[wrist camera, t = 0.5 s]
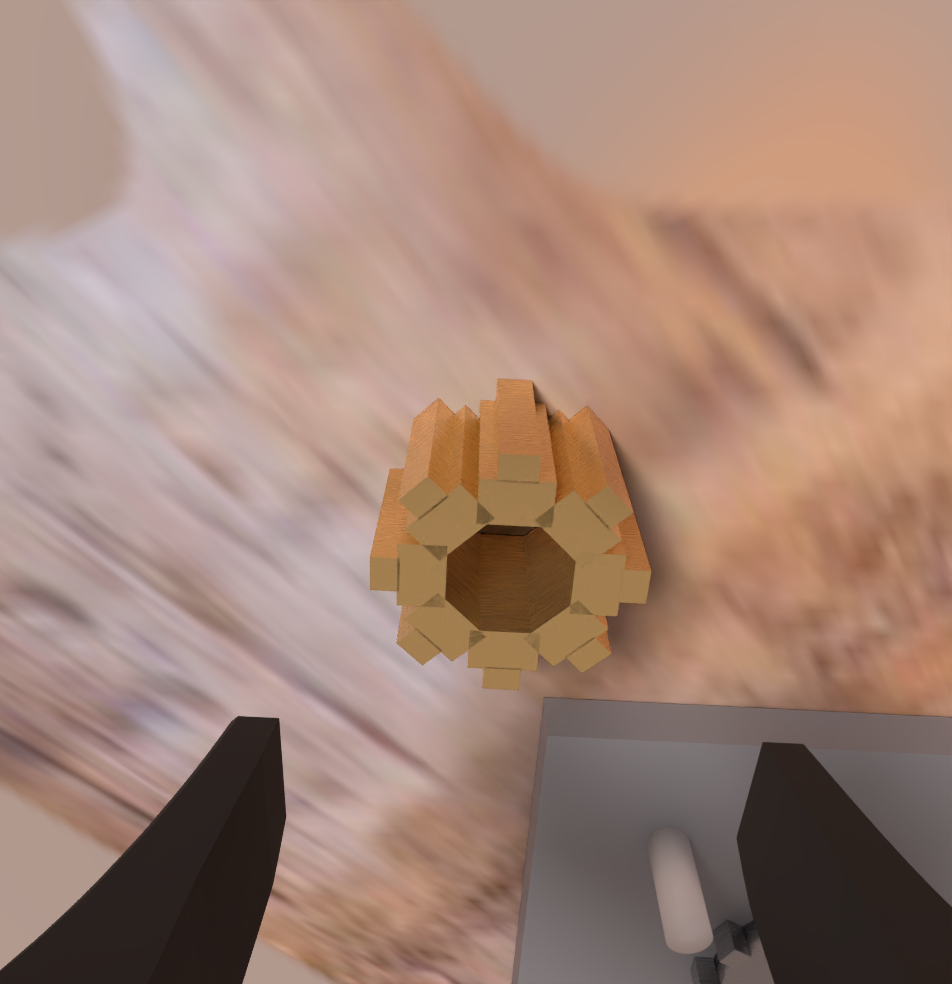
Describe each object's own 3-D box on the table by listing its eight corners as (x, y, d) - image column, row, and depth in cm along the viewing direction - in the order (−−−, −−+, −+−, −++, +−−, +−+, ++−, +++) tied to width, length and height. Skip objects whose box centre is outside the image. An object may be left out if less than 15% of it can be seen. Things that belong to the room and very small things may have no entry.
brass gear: (638, 386, 20) (670, 462, 17) (608, 591, 23) (629, 695, 19) (390, 372, 20) (369, 446, 16) (389, 580, 23) (370, 682, 19)
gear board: (1004, 719, 25) (1104, 853, 21) (880, 1000, 31) (938, 1145, 27) (544, 697, 24) (554, 827, 20) (511, 984, 30) (514, 1127, 27)
